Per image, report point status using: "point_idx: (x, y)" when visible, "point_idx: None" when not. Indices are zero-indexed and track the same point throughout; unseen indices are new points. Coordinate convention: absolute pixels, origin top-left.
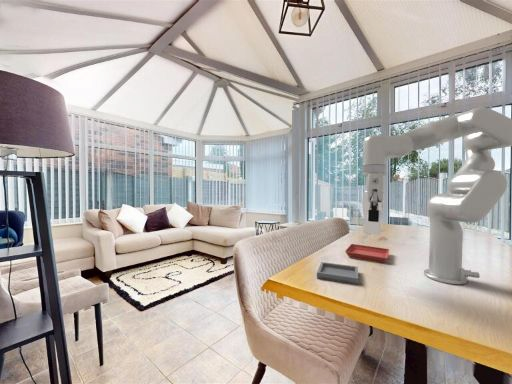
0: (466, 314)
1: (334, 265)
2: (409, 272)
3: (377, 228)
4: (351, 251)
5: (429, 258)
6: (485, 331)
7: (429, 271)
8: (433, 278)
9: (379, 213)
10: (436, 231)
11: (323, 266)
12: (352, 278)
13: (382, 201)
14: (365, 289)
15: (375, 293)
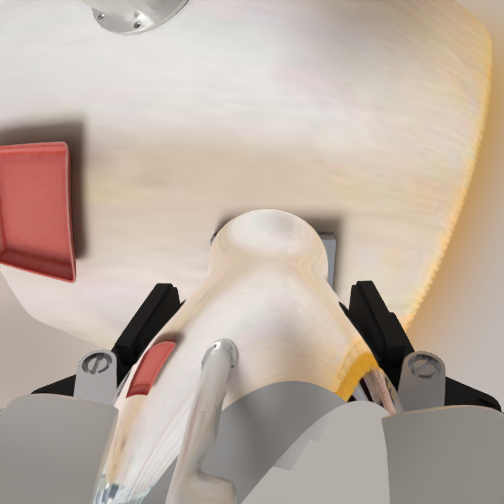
0: (400, 10)
1: None
2: (131, 72)
3: (318, 252)
4: (33, 256)
5: (112, 5)
6: (453, 20)
7: (137, 17)
8: (176, 11)
9: (350, 313)
10: None
11: None
12: (334, 255)
13: (487, 408)
14: (358, 214)
15: (375, 189)
